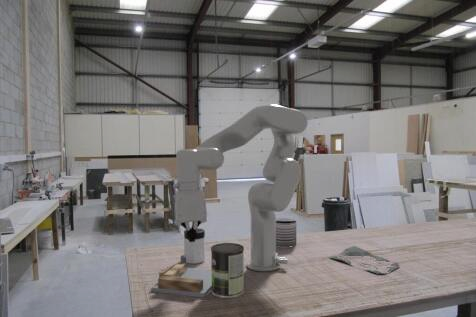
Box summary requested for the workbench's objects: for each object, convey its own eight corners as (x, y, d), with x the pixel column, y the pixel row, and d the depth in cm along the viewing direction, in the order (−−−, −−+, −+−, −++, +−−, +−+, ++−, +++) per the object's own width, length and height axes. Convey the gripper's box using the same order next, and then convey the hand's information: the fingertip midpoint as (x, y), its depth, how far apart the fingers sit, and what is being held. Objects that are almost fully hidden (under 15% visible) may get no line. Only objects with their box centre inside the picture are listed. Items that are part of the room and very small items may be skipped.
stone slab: (407, 271, 136) (407, 265, 135) (380, 281, 127) (380, 275, 127) (354, 250, 156) (354, 245, 156) (328, 258, 147) (328, 253, 147)
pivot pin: (187, 269, 131) (187, 255, 131) (185, 271, 129) (184, 257, 129) (182, 269, 131) (182, 255, 131) (179, 271, 130) (179, 256, 129)
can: (268, 246, 165) (268, 220, 164) (275, 240, 175) (275, 215, 175) (293, 249, 160) (293, 222, 160) (299, 242, 171) (299, 217, 170)
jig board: (224, 274, 129) (224, 262, 129) (204, 297, 110) (204, 283, 110) (178, 270, 134) (178, 258, 134) (151, 291, 115) (150, 278, 115)
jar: (189, 265, 139) (188, 234, 139) (180, 259, 146) (179, 230, 146) (209, 261, 144) (209, 231, 144) (200, 255, 151) (199, 227, 151)
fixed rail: (203, 289, 113) (203, 279, 113) (199, 292, 110) (199, 283, 110) (162, 284, 117) (162, 275, 117) (158, 288, 114) (158, 278, 114)
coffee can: (211, 299, 109) (211, 252, 108) (211, 285, 119) (210, 243, 118) (245, 297, 110) (245, 251, 109) (242, 284, 120) (242, 242, 119)
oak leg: (178, 271, 129) (178, 262, 129) (185, 271, 128) (185, 263, 128) (163, 283, 117) (163, 274, 117) (171, 284, 117) (171, 275, 117)
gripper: (168, 189, 114) (170, 247, 115) (214, 186, 119) (216, 241, 120) (164, 186, 121) (167, 241, 122) (208, 183, 126) (210, 235, 127)
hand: (191, 240), depth 121 cm, fingers closed
